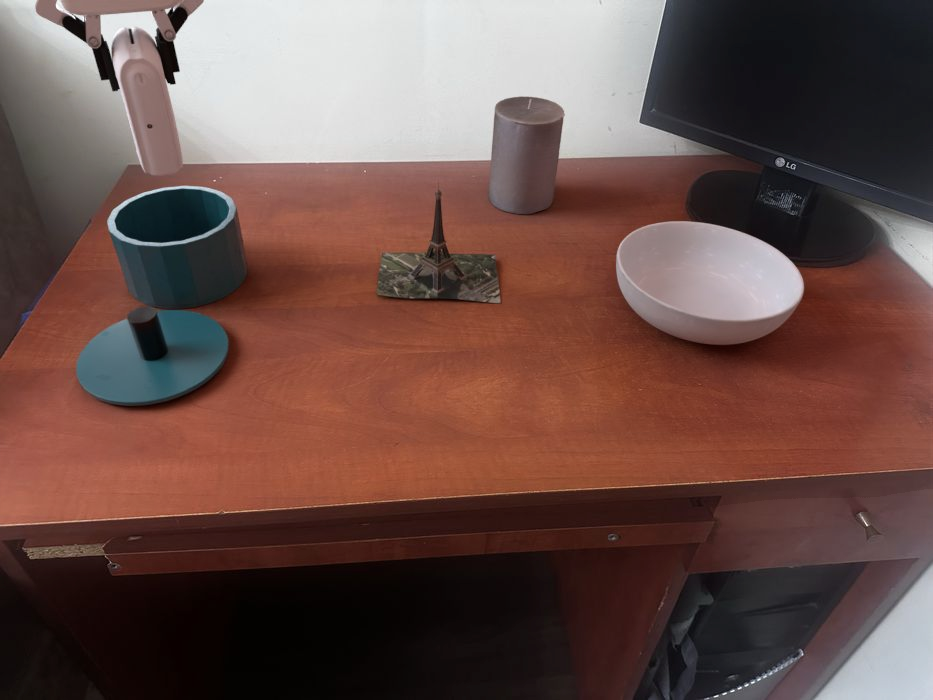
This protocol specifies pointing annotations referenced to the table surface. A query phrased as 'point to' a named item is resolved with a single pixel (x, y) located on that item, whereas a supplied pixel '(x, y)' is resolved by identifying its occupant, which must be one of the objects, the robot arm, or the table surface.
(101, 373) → the lid
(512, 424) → the table surface
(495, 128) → the pillar candle
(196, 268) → the pot
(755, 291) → the serving bowl
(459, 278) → the eiffel tower figurine
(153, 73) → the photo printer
